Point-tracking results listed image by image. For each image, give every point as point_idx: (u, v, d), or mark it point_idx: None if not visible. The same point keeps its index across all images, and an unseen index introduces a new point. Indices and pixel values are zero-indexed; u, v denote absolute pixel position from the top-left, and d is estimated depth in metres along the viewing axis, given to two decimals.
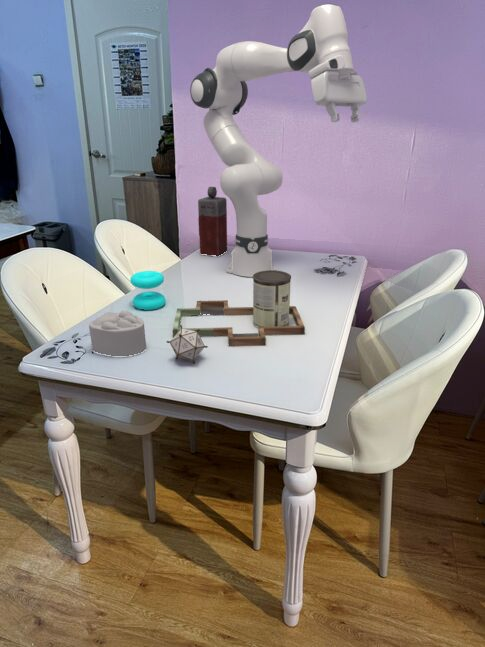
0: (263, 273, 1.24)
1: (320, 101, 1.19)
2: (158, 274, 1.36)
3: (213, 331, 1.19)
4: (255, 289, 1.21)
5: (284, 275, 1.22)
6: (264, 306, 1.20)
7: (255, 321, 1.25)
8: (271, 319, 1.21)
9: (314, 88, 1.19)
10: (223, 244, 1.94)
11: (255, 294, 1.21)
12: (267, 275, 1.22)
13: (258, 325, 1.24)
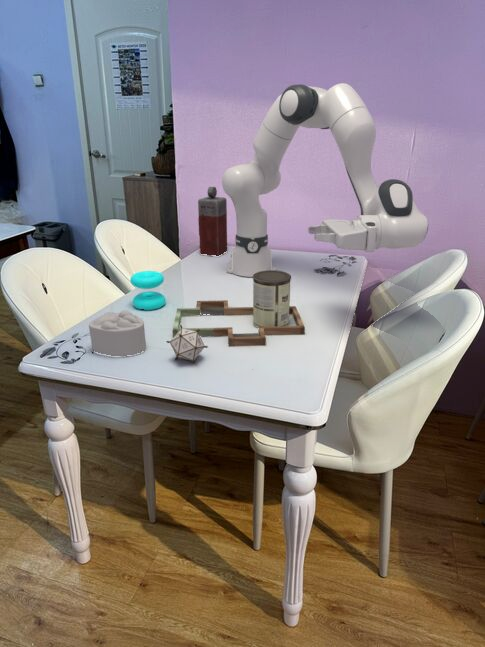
0: (263, 273, 1.24)
1: (340, 241, 1.09)
2: (158, 274, 1.36)
3: (213, 331, 1.19)
4: (255, 289, 1.21)
5: (284, 275, 1.22)
6: (264, 306, 1.20)
7: (255, 321, 1.25)
8: (271, 319, 1.21)
9: (356, 236, 1.08)
10: (223, 244, 1.94)
11: (255, 294, 1.21)
12: (267, 275, 1.22)
13: (258, 325, 1.24)
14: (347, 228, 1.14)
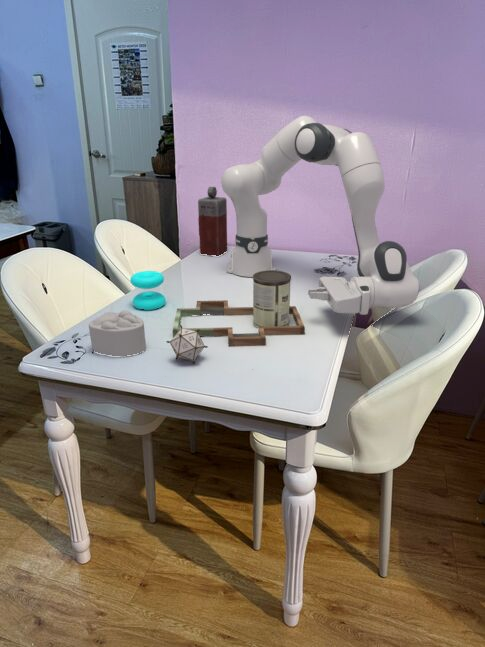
0: (263, 273, 1.24)
1: (336, 306, 1.15)
2: (158, 274, 1.36)
3: (213, 331, 1.19)
4: (255, 289, 1.21)
5: (284, 275, 1.22)
6: (264, 306, 1.20)
7: (255, 321, 1.25)
8: (271, 319, 1.21)
9: (351, 301, 1.15)
10: (223, 244, 1.94)
11: (255, 294, 1.21)
12: (267, 275, 1.22)
13: (258, 325, 1.24)
14: (342, 290, 1.21)
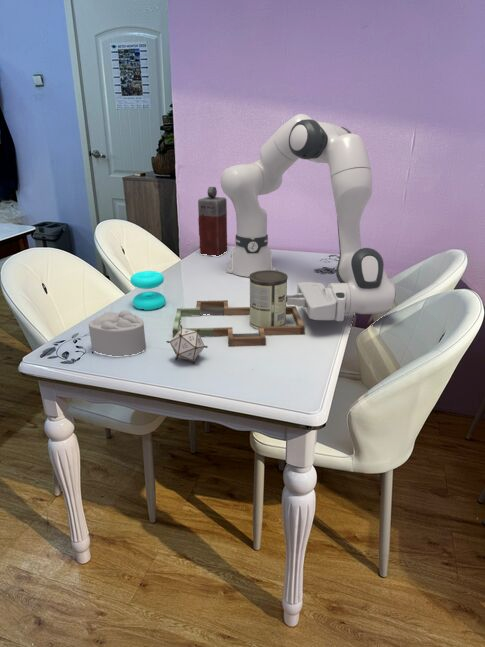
0: (260, 273, 1.24)
1: (311, 313, 1.16)
2: (158, 274, 1.36)
3: (213, 331, 1.19)
4: (251, 289, 1.21)
5: (281, 275, 1.22)
6: (261, 306, 1.20)
7: (251, 321, 1.24)
8: (267, 319, 1.21)
9: (326, 308, 1.16)
10: (223, 244, 1.94)
11: (251, 294, 1.21)
12: (263, 275, 1.22)
13: (254, 325, 1.24)
14: (319, 297, 1.22)
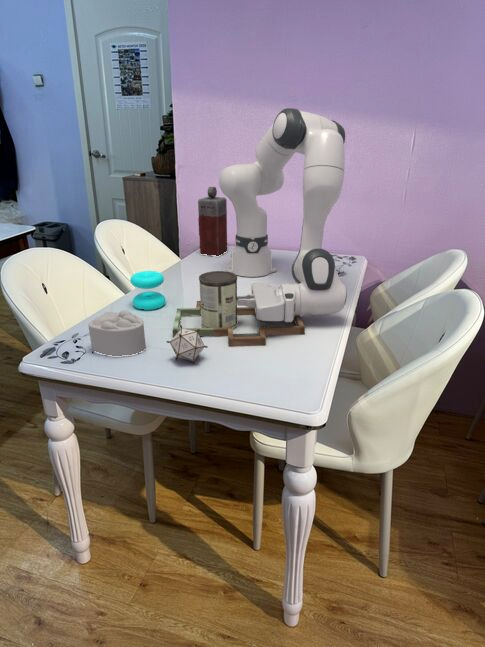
0: (211, 273, 1.24)
1: (258, 313, 1.15)
2: (158, 274, 1.36)
3: (213, 331, 1.19)
4: (200, 289, 1.21)
5: (231, 276, 1.21)
6: (208, 307, 1.20)
7: (202, 321, 1.24)
8: (215, 320, 1.21)
9: (273, 309, 1.15)
10: (223, 244, 1.94)
11: (200, 294, 1.21)
12: (214, 276, 1.22)
13: (204, 325, 1.23)
14: (269, 298, 1.21)
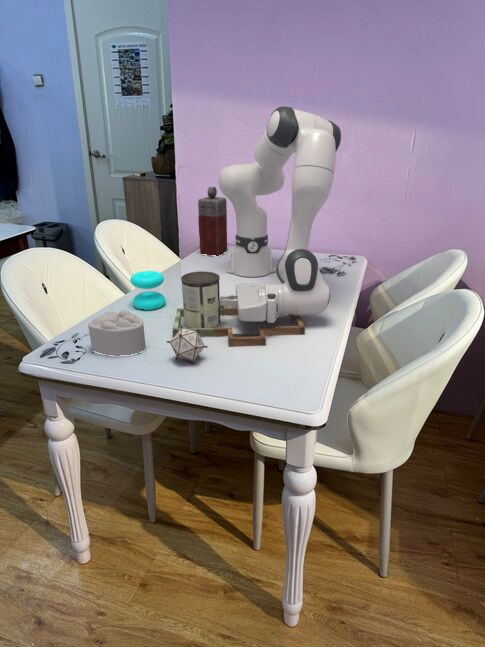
0: (194, 274, 1.23)
1: (240, 314, 1.15)
2: (158, 274, 1.36)
3: (213, 331, 1.19)
4: (182, 290, 1.20)
5: (213, 277, 1.21)
6: (190, 307, 1.20)
7: (184, 322, 1.24)
8: (197, 320, 1.20)
9: (255, 309, 1.15)
10: (223, 244, 1.94)
11: (183, 295, 1.21)
12: (196, 276, 1.22)
13: (186, 326, 1.23)
14: (251, 298, 1.21)
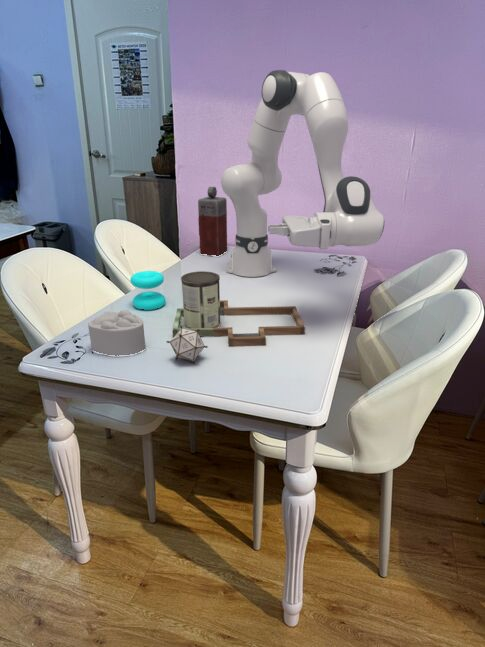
0: (194, 274, 1.23)
1: (293, 238, 1.09)
2: (158, 274, 1.36)
3: (213, 331, 1.19)
4: (182, 290, 1.20)
5: (213, 277, 1.21)
6: (190, 307, 1.20)
7: (184, 322, 1.24)
8: (197, 320, 1.20)
9: (309, 233, 1.09)
10: (223, 244, 1.94)
11: (183, 295, 1.21)
12: (196, 276, 1.22)
13: (186, 326, 1.23)
14: (303, 225, 1.15)
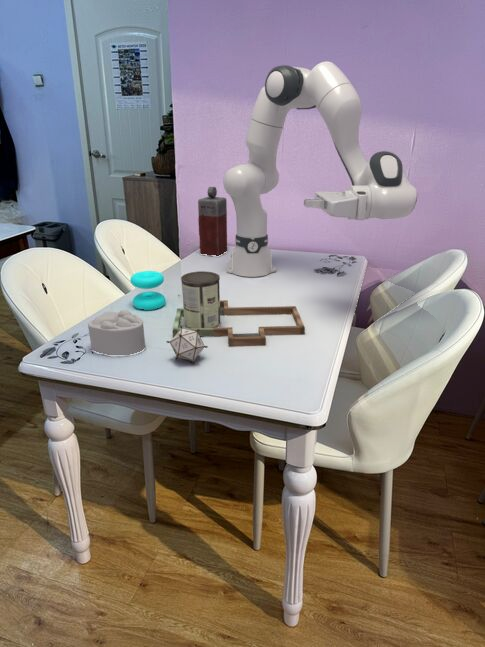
0: (194, 274, 1.23)
1: (331, 208, 1.12)
2: (158, 274, 1.36)
3: (213, 331, 1.19)
4: (182, 290, 1.20)
5: (213, 277, 1.21)
6: (190, 307, 1.20)
7: (184, 322, 1.24)
8: (197, 320, 1.20)
9: (347, 203, 1.12)
10: (223, 244, 1.94)
11: (183, 295, 1.21)
12: (196, 276, 1.22)
13: (186, 326, 1.23)
14: (339, 197, 1.18)
